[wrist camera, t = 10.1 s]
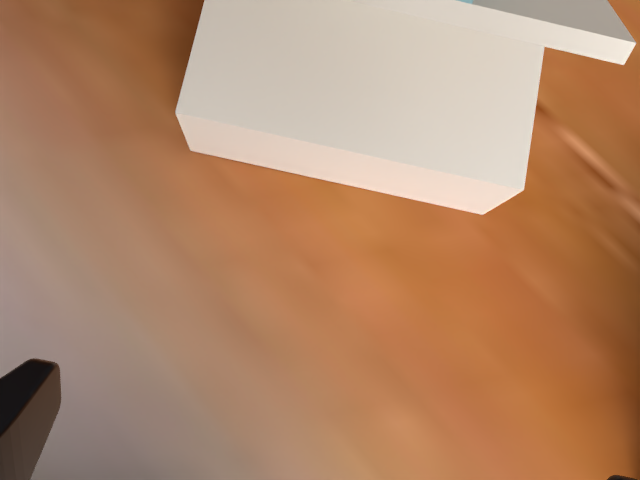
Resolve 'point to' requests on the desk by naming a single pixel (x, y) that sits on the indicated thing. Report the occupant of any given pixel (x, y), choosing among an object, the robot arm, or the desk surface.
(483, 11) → the flap
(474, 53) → the carton
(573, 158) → the desk surface
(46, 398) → the robot arm
